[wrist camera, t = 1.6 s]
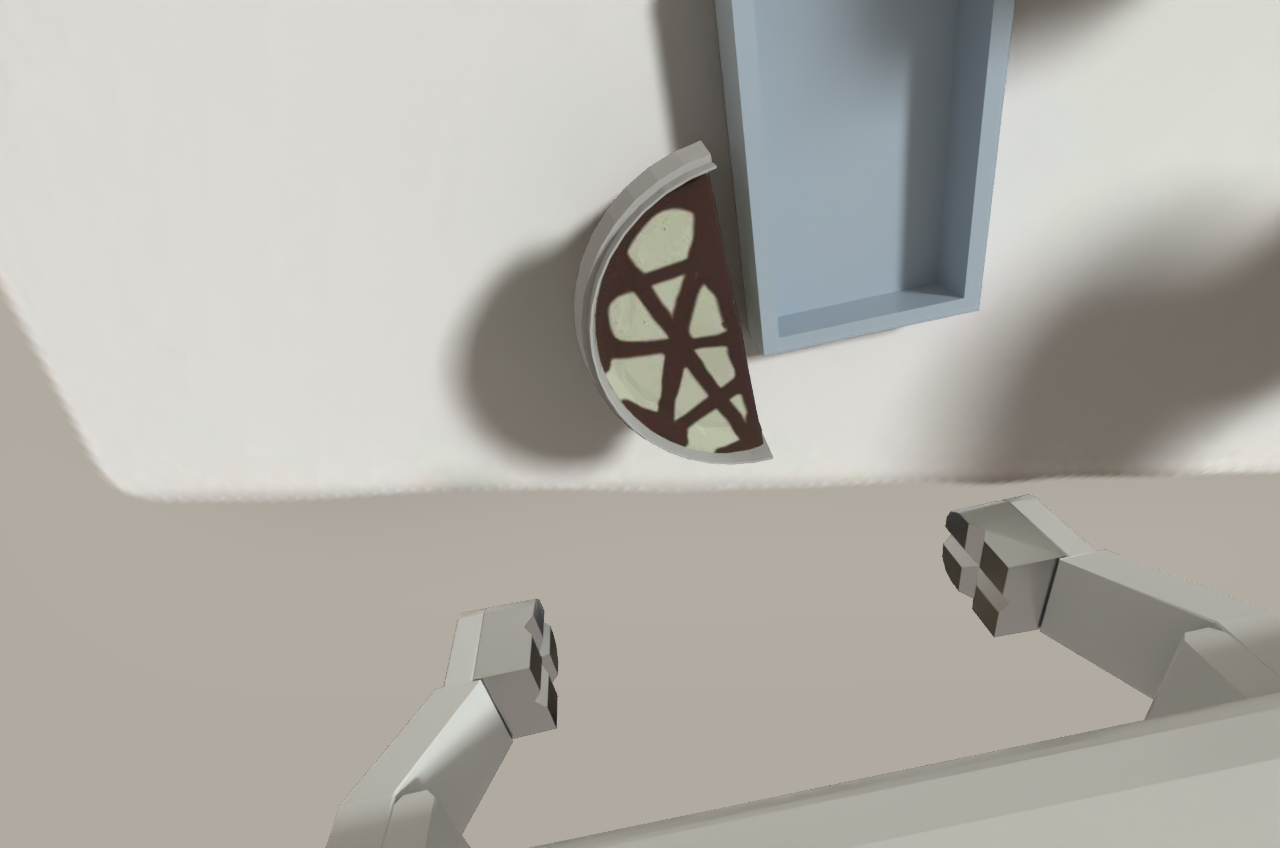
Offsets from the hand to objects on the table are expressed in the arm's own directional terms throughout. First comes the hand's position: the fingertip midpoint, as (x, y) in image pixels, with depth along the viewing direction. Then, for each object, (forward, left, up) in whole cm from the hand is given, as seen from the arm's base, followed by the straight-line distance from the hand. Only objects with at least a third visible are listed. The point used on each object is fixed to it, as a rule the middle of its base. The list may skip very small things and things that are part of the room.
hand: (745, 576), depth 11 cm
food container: (0, 0, -21) cm, 21 cm away
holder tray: (-10, -4, -21) cm, 23 cm away
